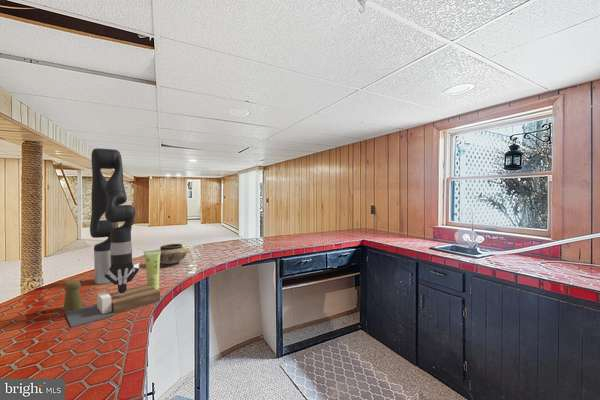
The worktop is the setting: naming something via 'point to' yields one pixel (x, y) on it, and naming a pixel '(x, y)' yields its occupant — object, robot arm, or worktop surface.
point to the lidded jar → (134, 262)
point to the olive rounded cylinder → (72, 296)
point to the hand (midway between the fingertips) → (122, 292)
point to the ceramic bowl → (172, 254)
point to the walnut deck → (134, 298)
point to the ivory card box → (104, 302)
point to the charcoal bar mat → (86, 315)
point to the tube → (152, 267)
